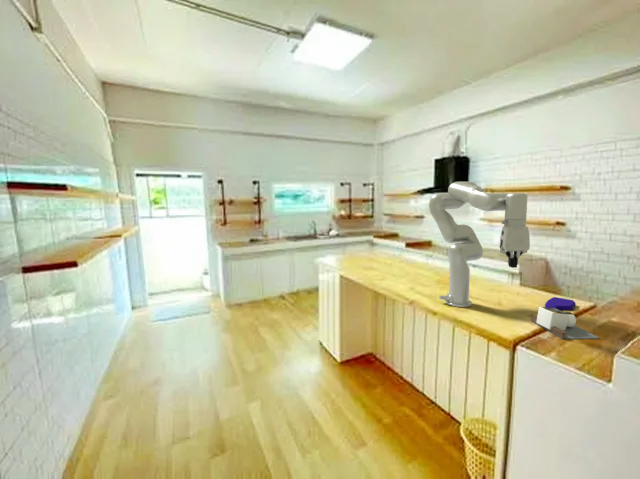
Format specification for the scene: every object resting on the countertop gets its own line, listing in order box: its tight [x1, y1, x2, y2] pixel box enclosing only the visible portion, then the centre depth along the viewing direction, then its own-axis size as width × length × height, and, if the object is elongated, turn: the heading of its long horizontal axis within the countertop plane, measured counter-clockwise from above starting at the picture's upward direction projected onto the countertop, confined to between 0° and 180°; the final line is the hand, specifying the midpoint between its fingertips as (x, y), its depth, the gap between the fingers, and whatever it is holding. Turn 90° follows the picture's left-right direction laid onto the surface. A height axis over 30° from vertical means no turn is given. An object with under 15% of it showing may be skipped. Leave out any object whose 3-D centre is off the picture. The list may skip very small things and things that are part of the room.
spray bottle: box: [544, 296, 576, 311], centre depth 150 cm, size 3×11×24 cm
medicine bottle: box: [536, 306, 577, 331], centre depth 127 cm, size 7×7×12 cm
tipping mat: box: [530, 315, 601, 340], centre depth 126 cm, size 14×18×2 cm
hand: (512, 266), depth 130 cm, fingers closed
